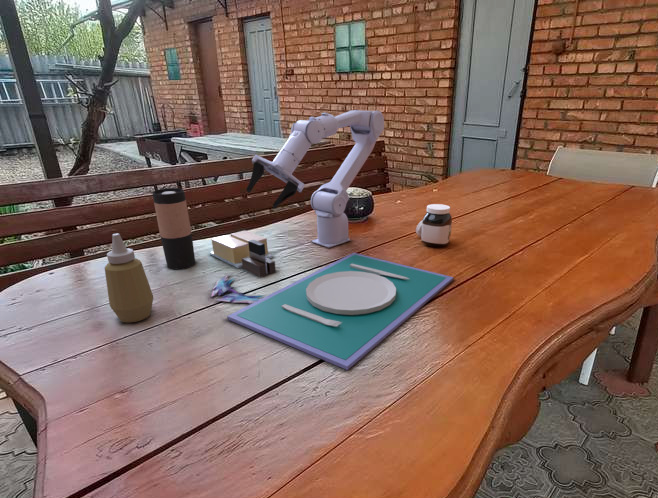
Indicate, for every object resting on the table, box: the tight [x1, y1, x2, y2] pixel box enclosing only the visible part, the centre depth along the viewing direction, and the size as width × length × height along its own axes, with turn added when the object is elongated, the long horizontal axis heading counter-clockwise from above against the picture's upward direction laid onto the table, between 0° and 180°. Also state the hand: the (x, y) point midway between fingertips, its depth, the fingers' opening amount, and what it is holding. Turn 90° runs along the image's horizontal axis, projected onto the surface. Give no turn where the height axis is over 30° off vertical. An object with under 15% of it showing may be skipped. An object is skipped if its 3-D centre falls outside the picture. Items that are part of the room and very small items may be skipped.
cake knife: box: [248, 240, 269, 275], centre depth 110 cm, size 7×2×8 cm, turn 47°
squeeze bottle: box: [104, 232, 154, 324], centre depth 85 cm, size 8×8×18 cm
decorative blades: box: [211, 274, 265, 305], centre depth 99 cm, size 20×1×10 cm
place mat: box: [226, 252, 454, 371], centre depth 96 cm, size 45×30×2 cm
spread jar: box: [415, 203, 453, 248], centre depth 130 cm, size 12×11×12 cm
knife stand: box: [242, 257, 277, 278], centre depth 111 cm, size 5×8×3 cm, turn 47°
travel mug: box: [151, 187, 196, 270], centre depth 111 cm, size 8×8×20 cm
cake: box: [209, 230, 274, 269], centre depth 120 cm, size 11×15×5 cm
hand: (261, 198), depth 108 cm, fingers open, 7 cm apart
